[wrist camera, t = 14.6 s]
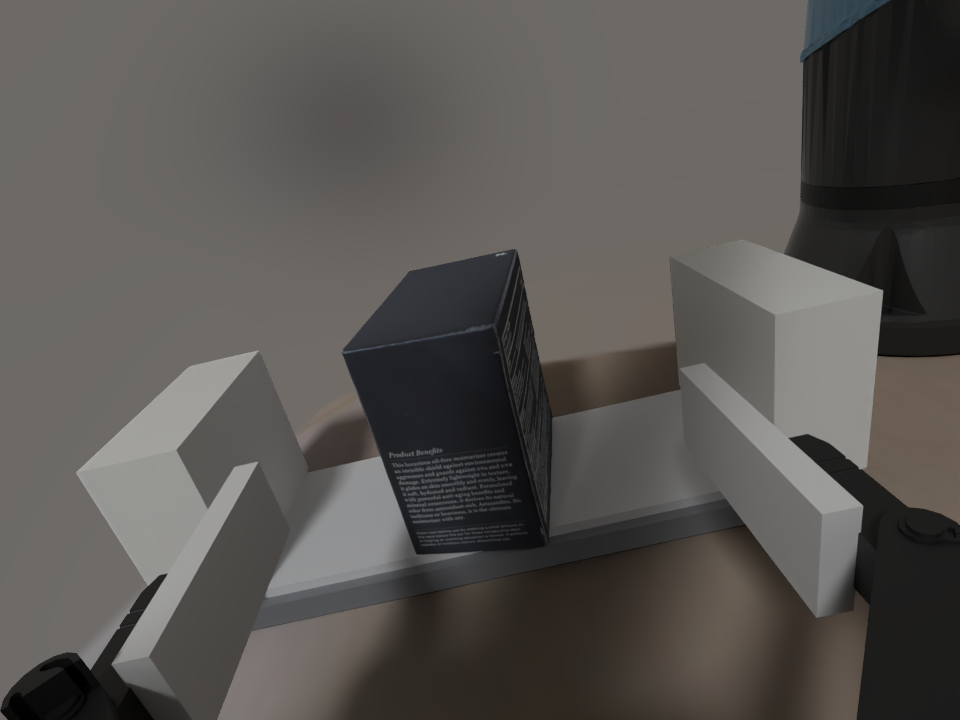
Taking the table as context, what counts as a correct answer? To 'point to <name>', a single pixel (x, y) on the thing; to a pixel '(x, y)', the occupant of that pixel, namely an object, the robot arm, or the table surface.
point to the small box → (459, 406)
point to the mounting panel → (572, 536)
